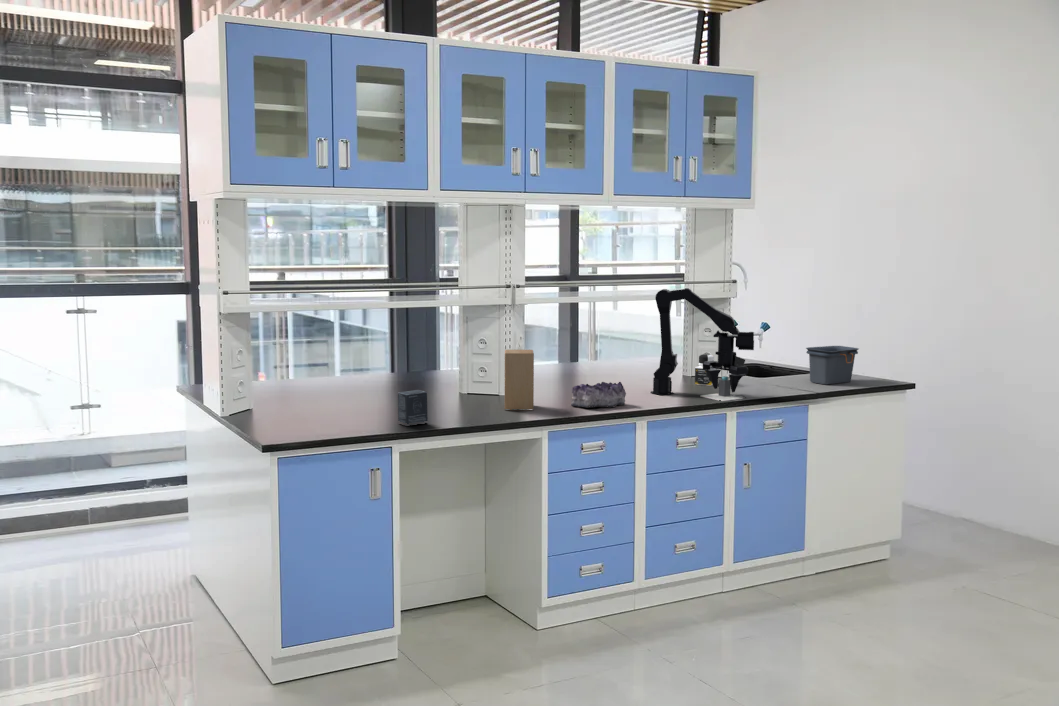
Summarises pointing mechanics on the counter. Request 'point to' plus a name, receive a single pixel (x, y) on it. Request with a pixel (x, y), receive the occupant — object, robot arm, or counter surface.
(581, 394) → the geode
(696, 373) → the medicine bottle
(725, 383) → the grey bottle
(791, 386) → the counter surface
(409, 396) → the box
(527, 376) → the wooden block
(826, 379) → the storage bin
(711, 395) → the notepad
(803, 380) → the counter surface
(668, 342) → the robot arm
